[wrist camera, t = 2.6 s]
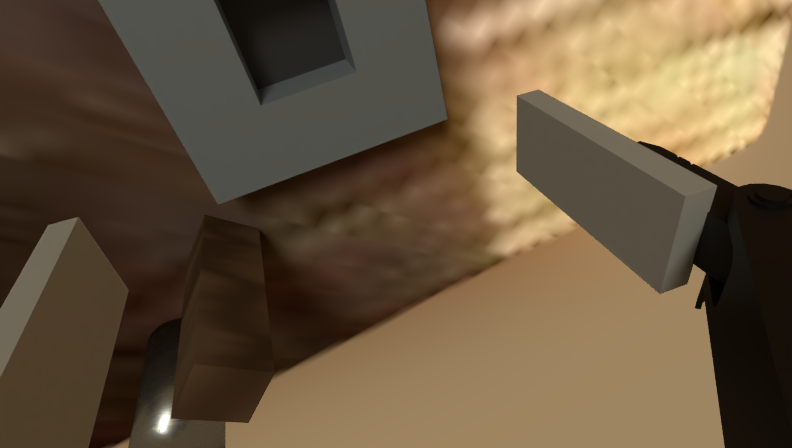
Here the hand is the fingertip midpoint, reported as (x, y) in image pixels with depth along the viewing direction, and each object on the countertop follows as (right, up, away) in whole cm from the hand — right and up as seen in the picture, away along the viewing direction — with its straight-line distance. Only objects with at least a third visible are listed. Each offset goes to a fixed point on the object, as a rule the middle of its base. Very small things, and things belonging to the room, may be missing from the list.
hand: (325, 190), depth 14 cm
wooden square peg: (-11, -3, +21) cm, 24 cm away
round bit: (-16, -11, +25) cm, 31 cm away
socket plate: (-5, +11, +14) cm, 19 cm away
